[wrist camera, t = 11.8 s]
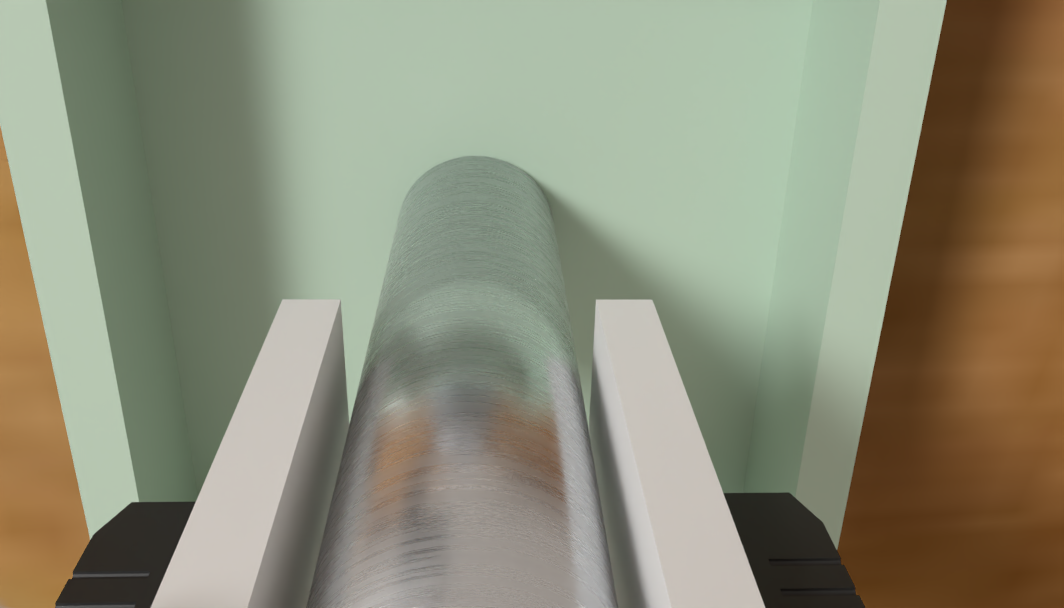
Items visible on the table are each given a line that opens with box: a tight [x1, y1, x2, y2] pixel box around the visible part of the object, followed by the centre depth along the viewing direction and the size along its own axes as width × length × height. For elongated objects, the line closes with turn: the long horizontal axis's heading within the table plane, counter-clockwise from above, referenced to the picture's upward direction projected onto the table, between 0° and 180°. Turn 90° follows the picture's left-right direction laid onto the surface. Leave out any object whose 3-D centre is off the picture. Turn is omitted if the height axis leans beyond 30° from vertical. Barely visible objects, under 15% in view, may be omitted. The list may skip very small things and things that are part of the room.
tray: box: [0, 0, 947, 550], centre depth 18 cm, size 16×14×4 cm
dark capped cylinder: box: [306, 156, 618, 608], centre depth 12 cm, size 3×3×15 cm
